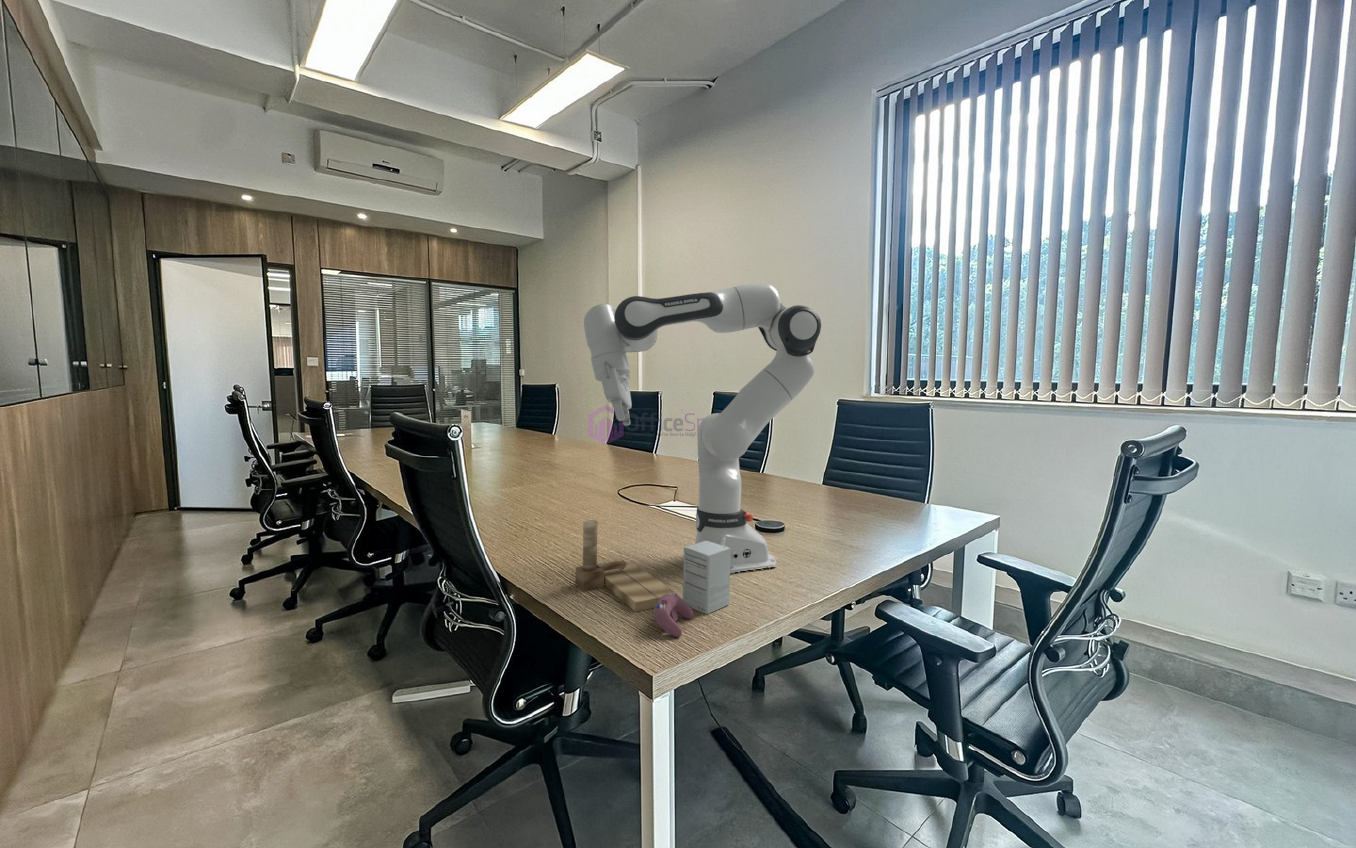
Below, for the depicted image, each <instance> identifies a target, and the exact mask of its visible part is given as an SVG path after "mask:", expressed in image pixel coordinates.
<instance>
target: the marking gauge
mask: <svg viewBox="0 0 1356 848" xmlns="http://www.w3.org/2000/svg"><path fill="white" fill-rule="evenodd" d="M582 526H583V527H582V528H583V529H582V530H583V532H582V534H583V535H582V536H583V537H582V565H580V566H575V581H574V582H575V583H574V584H575V585H576V586H577V587H578V588H579V589H581V591H583V592H587V591H592V590H596V589H597V590H599V589H602V588H603V589H604V588H605V585H604V571H607V570H613V569H619V568H621V569H624V568H625V567H626V564H627V561H625V560H623V559H622V560H617V561H612V562H605V563H599V564H598V527H599V526H598V521H597V520H595V519H587V520H583V524H582Z"/></svg>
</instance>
